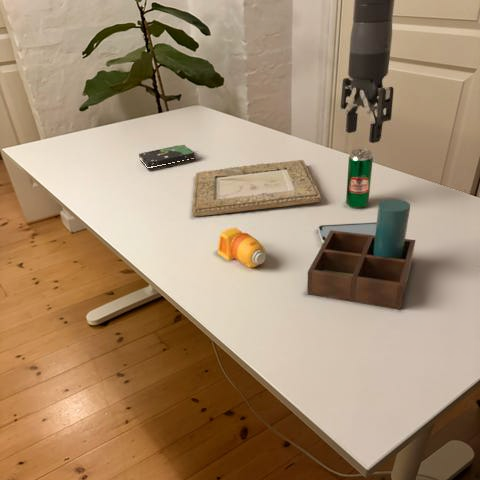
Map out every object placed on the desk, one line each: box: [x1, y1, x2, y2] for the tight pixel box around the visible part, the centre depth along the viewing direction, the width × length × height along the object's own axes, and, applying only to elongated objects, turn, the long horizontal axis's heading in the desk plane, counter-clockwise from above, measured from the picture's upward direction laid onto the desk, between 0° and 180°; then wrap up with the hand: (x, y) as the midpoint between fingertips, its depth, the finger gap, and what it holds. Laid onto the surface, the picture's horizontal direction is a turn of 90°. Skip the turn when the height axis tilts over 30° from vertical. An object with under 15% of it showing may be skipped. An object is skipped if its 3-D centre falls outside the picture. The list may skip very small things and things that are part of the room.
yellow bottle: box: [217, 227, 266, 268], centre depth 89 cm, size 5×6×12 cm
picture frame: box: [191, 159, 322, 218], centre depth 117 cm, size 27×30×3 cm
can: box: [373, 198, 411, 259], centre depth 80 cm, size 5×5×12 cm
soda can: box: [345, 148, 374, 209], centre depth 103 cm, size 5×5×12 cm
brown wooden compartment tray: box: [306, 230, 416, 310], centre depth 81 cm, size 15×15×5 cm
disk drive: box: [138, 144, 196, 171], centre depth 140 cm, size 10×3×15 cm
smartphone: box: [317, 221, 377, 244], centre depth 94 cm, size 7×1×15 cm
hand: (362, 136), depth 97 cm, fingers open, 8 cm apart
